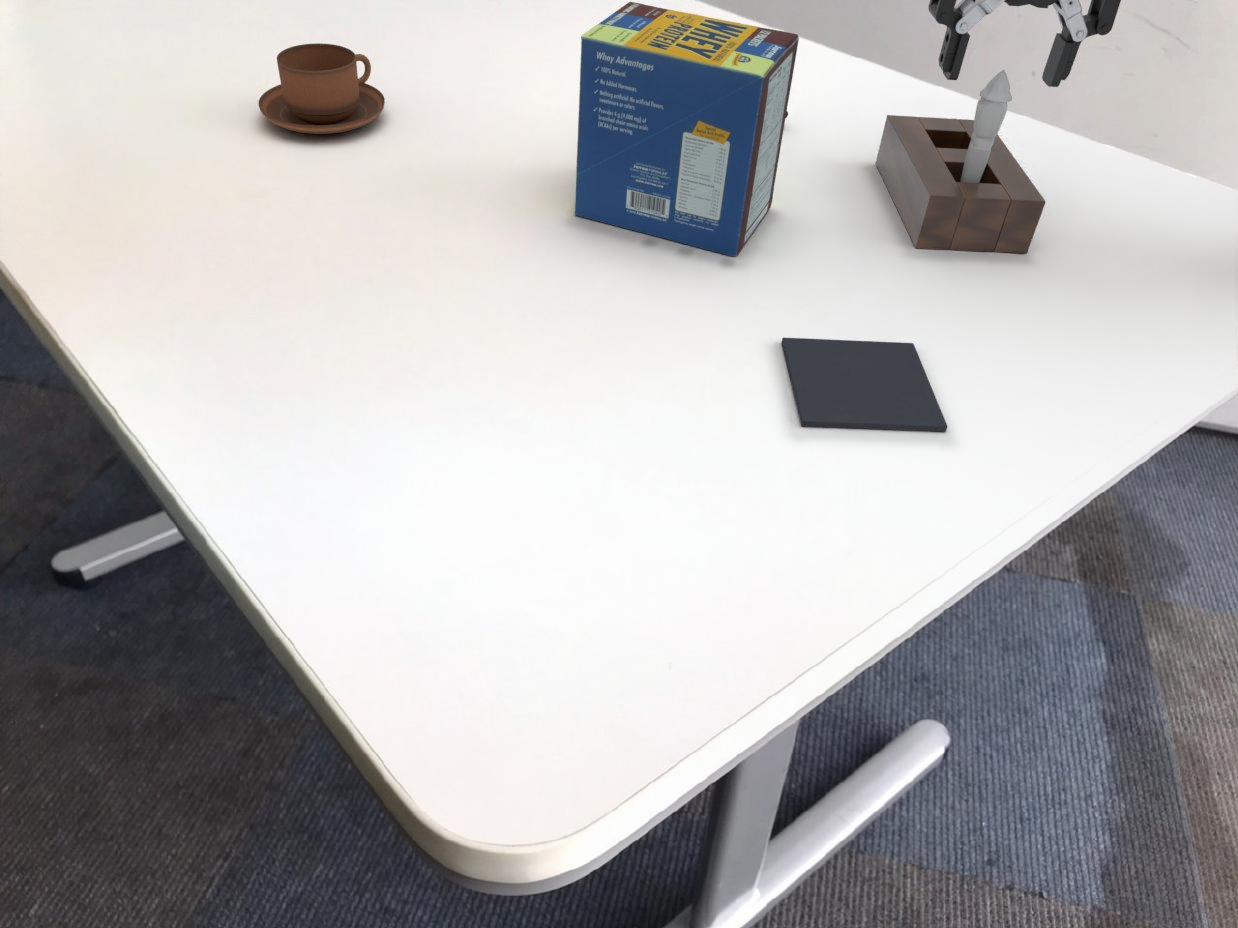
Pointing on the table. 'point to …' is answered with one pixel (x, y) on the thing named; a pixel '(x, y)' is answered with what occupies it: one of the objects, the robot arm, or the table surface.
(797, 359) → the mat
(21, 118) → the table surface
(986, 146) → the pen
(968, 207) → the pen stand
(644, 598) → the table surface
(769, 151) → the protein box
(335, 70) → the cup and saucer
